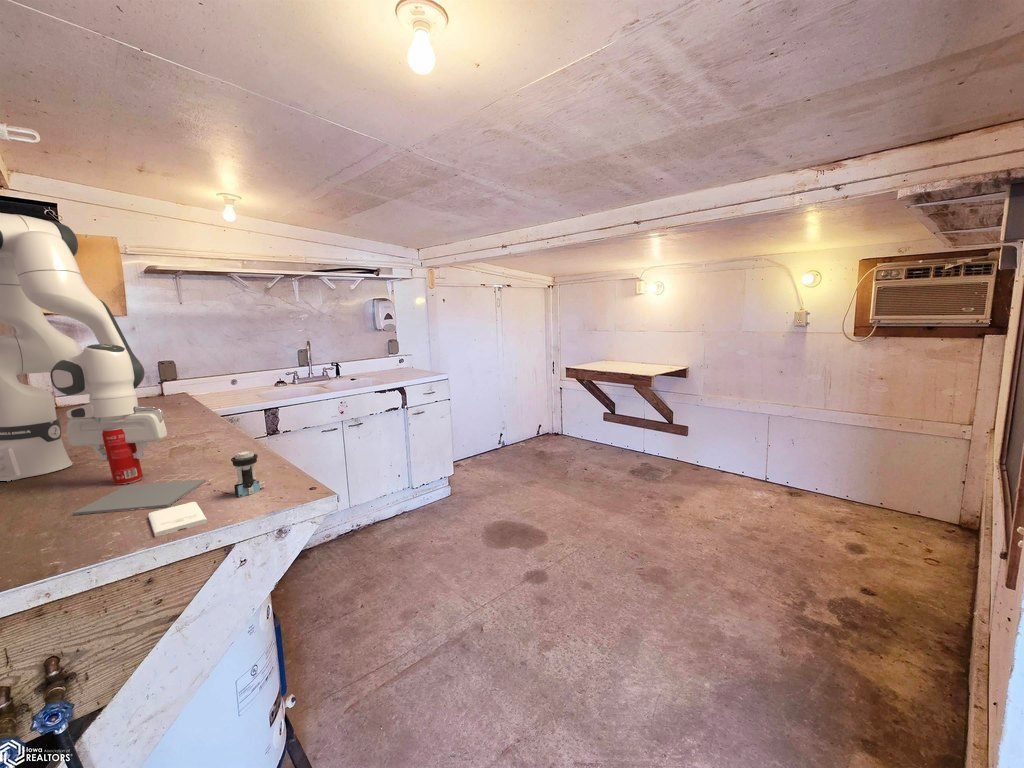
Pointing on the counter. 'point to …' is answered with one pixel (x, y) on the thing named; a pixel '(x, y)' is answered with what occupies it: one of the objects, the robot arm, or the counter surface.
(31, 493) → the counter surface
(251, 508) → the counter surface
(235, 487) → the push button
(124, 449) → the beverage can
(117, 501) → the mat
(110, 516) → the counter surface
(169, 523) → the external hard drive
